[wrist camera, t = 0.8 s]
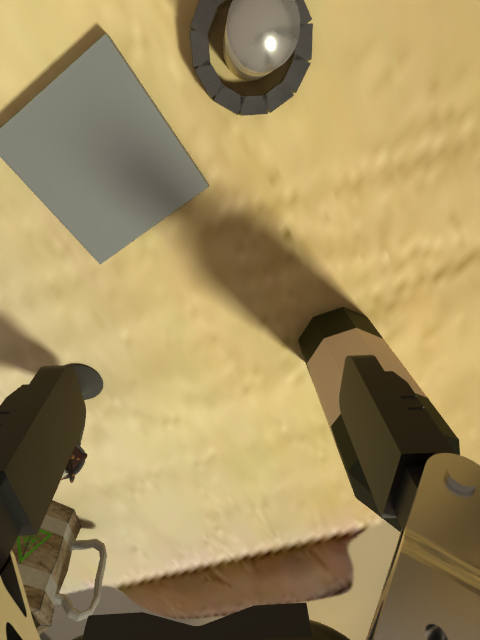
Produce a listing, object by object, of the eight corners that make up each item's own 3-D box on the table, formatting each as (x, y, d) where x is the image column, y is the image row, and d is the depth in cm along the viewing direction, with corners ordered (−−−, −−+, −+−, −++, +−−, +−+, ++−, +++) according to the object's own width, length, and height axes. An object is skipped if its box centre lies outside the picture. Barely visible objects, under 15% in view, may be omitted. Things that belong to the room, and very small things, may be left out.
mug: (-1, 536, 54) (-52, 639, 43) (4, 491, 49) (-52, 594, 38) (108, 550, 57) (85, 648, 47) (122, 509, 52) (101, 608, 42)
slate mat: (109, 36, 26) (105, 33, 25) (208, 184, 31) (208, 186, 30) (-8, 140, 29) (-15, 141, 28) (102, 260, 34) (100, 264, 33)
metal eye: (269, -62, 24) (273, -72, 23) (326, 69, 28) (332, 67, 26) (168, 26, 26) (165, 21, 24) (234, 137, 30) (235, 138, 28)
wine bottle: (326, 382, 43) (500, 795, 17) (282, 340, 40) (416, 775, 14) (387, 340, 41) (695, 748, 15) (345, 292, 37) (652, 710, 11)
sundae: (34, 379, 40) (-50, 508, 27) (77, 347, 38) (9, 468, 25) (81, 413, 43) (25, 545, 30) (123, 384, 41) (83, 511, 28)
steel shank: (258, -1, 25) (276, -42, 18) (287, 58, 27) (312, 41, 20) (211, 38, 26) (211, 13, 19) (242, 93, 28) (252, 87, 21)
